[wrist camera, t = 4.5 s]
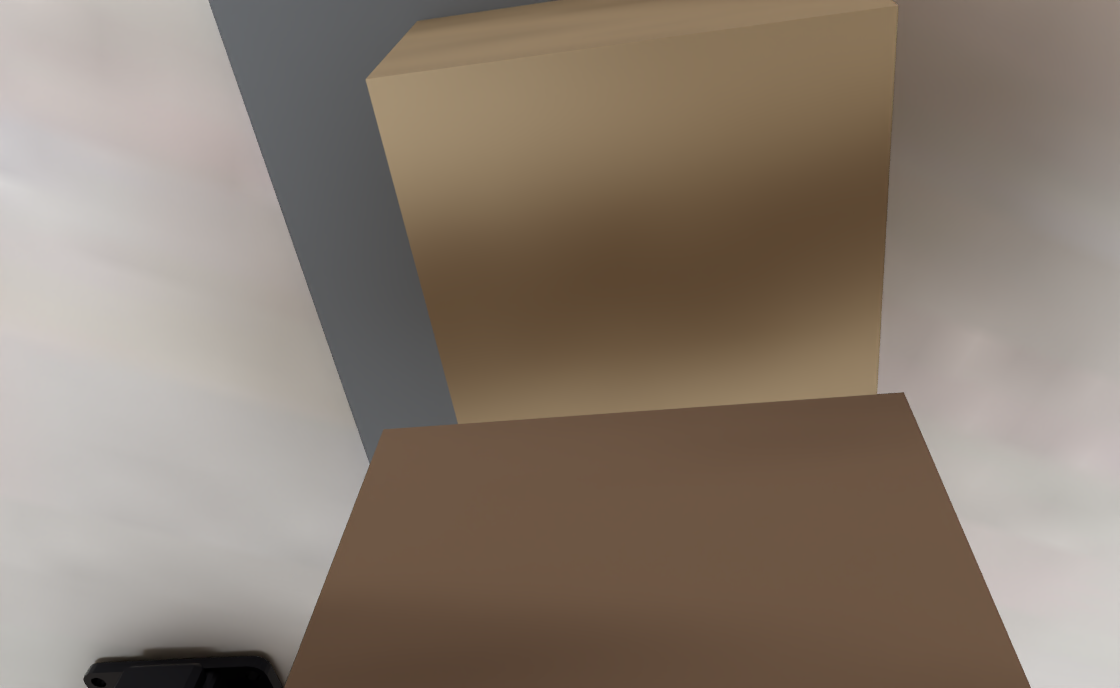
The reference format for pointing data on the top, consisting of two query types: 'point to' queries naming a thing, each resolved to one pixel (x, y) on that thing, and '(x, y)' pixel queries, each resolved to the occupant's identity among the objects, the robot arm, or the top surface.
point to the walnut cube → (659, 557)
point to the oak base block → (646, 199)
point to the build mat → (345, 189)
